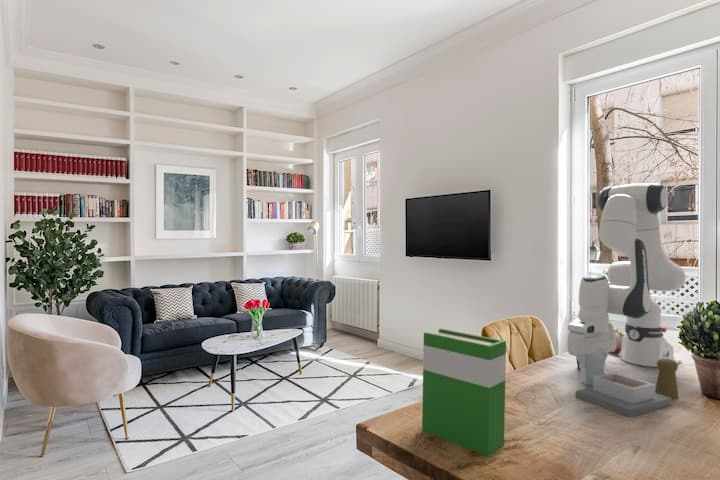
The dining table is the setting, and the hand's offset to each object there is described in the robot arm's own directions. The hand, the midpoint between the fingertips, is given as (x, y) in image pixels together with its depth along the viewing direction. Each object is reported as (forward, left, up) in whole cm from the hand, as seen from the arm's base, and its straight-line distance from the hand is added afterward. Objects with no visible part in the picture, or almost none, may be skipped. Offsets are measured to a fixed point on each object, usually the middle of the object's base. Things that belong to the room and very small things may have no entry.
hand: (592, 366), depth 144 cm
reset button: (+6, +14, -3) cm, 16 cm away
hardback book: (+65, +12, -6) cm, 66 cm away
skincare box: (0, 0, -6) cm, 6 cm away
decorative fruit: (-46, -21, -6) cm, 51 cm away
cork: (-11, +17, -6) cm, 21 cm away
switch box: (+6, +14, -6) cm, 16 cm away
